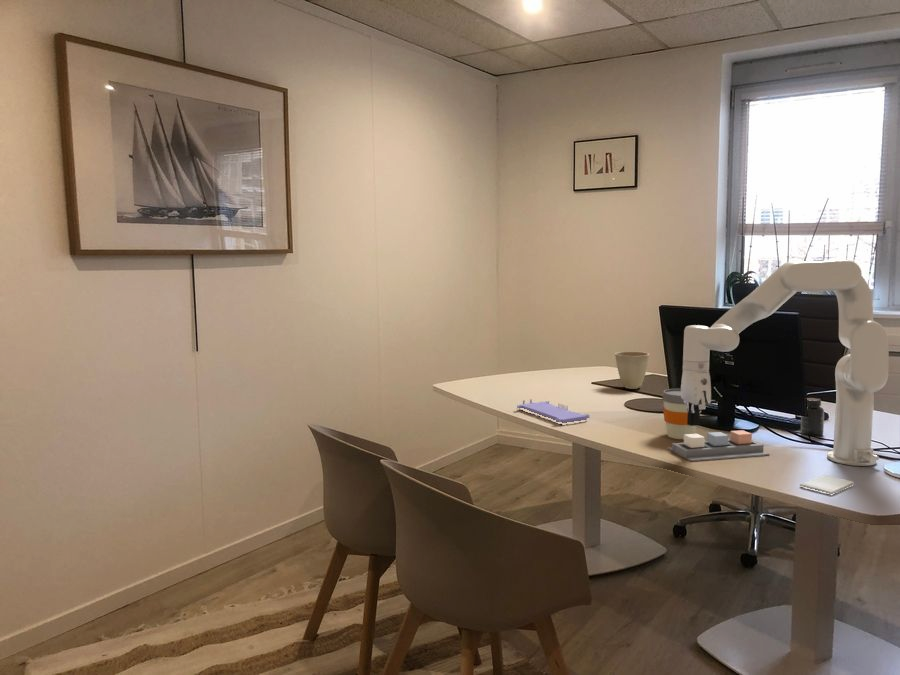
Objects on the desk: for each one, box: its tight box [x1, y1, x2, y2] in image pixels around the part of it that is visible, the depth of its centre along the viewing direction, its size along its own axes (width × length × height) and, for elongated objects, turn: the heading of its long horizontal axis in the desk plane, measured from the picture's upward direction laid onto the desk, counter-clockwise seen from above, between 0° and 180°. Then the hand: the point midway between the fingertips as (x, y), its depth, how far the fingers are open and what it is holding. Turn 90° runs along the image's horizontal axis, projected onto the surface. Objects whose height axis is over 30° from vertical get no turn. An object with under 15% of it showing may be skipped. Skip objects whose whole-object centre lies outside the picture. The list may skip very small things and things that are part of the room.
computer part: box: [516, 398, 590, 423], centre depth 265 cm, size 30×4×15 cm
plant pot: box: [614, 351, 650, 387], centre depth 314 cm, size 15×15×16 cm
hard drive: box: [799, 474, 855, 494], centre depth 183 cm, size 2×8×12 cm
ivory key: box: [683, 433, 706, 448], centre depth 213 cm, size 4×4×3 cm
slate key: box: [706, 431, 729, 446], centre depth 214 cm, size 4×4×3 cm
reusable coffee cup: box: [662, 388, 698, 440], centre depth 233 cm, size 13×13×15 cm
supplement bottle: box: [800, 397, 825, 437], centre depth 233 cm, size 7×7×12 cm
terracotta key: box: [729, 429, 753, 444], centre depth 216 cm, size 4×4×3 cm
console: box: [666, 438, 770, 462], centre depth 215 cm, size 14×26×2 cm, turn 101°
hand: (693, 424), depth 212 cm, fingers closed
